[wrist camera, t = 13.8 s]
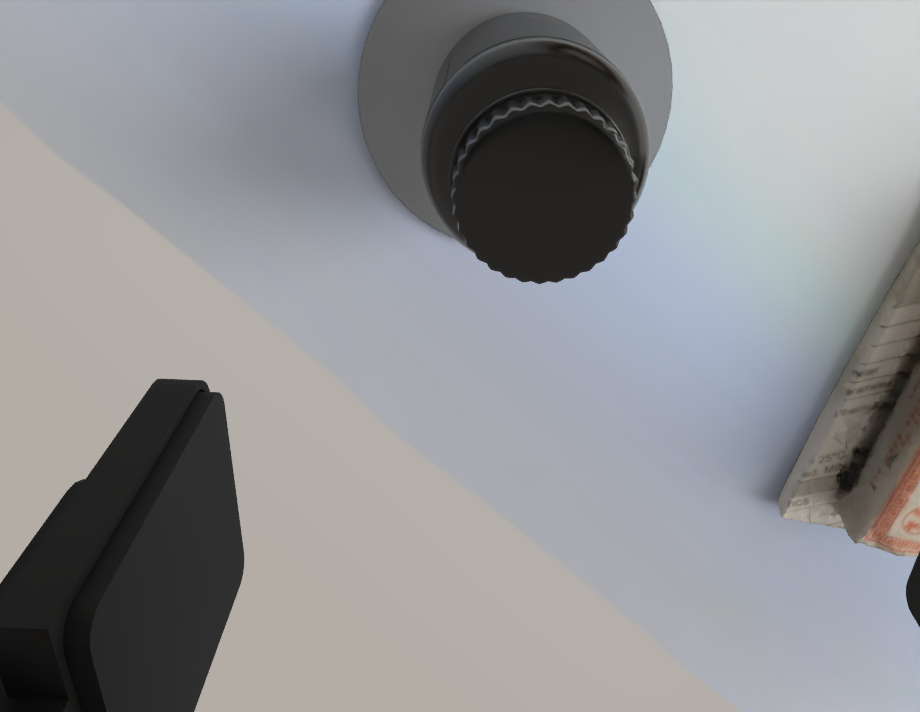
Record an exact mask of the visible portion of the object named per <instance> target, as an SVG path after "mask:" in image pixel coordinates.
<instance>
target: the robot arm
mask: <svg viewBox="0 0 920 712" xmlns="http://www.w3.org/2000/svg"><path fill="white" fill-rule="evenodd" d="M243 569H244V550H243V542H242V535H241V527H240V520H239V512H238V505H237V497H236V489H235V481H234V474H233V466H232V459H231V451H230V443H229V437H228V428H227V421H226V413H225V405H224V401H223V397H222V395H221V394H220V393H218V392H217V393H216V392H210V391H209V388H208V385H207V384H206V382H204V381H202V380H178V379H157V380H156V381H155V382H154V383H153V384H152V385H151V387H150V388H149V390H148V391H147V393H146V394H145V396H144V397H143V398H142V400H141V401H140V402H139V404H138V405H137V407H136V408H135V410H134V411H133V413H132V414H131V415H130V417H129V418H128V420H127V421H126V422H125V424H124V425H123V427H122V428H121V430H120V431H119V433H118V434H117V435H116V437H115V438H114V440H113V441H112V443H111V444H110V445H109V447H108V448H107V450H106V451H105V452H104V454H103V455H102V457H101V458H100V459H99V461H98V462H97V464H96V465H95V467H94V468H93V469H92V471H91V472H90V474H89V475H88V477H87V478H86V479H83V480H80V481H78V482H75V483H74V485H72V487H70V489H69V490H68V491H67V492H66V493H65V495H64V496H63V497H62V499H61V500H60V502H59V503H58V505H57V506H56V507H55V509H54V510H53V511H52V513H51V514H50V516H49V517H48V518H47V520H46V522H45V523H44V524H43V526H42V527H41V528H40V530H39V531H38V532H37V534H36V535H35V536H34V538H33V539H32V541H31V542H30V543H29V545H28V546H27V547H26V549H25V550H24V552H23V553H22V554H21V556H20V557H19V559H18V560H17V561H16V563H15V564H14V565H13V567H12V568H11V570H10V571H9V572H8V574H7V575H6V577H5V578H4V579H3V581H2V582H1V584H0V712H194V710H195V708H196V705H197V702H198V699H199V697H200V694H201V691H202V688H203V685H204V683H205V680H206V677H207V675H208V672H209V669H210V666H211V663H212V661H213V658H214V655H215V653H216V650H217V647H218V644H219V642H220V639H221V636H222V633H223V630H224V628H225V625H226V622H227V620H228V617H229V614H230V611H231V609H232V606H233V603H234V600H235V597H236V595H237V592H238V589H239V587H240V584H241V580H242V575H243ZM906 597H907V603H908V607H909V609H910V611H911V613H912V615H913V617H914V618H915V620H916V622H917V623H918V625H919V627H920V552H919V554H918V557H917V559H916V562H915V564H914V567H913V569H912V572H911V574H910V576H909V579H908V582H907V586H906Z"/></svg>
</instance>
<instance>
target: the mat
mask: <svg viewBox="0 0 920 712" xmlns="http://www.w3.org/2000/svg"><path fill="white" fill-rule="evenodd" d="M515 12H535V13H541V14H546V15H549V16H553V17H555V18H558V19H560V20H562V21H564V22H566V23H568V24H570V25H571V26H573V27H574V28H576V29H577V30H578V31H580V32H581V33H582V34H583V35H584V36H586V37H587V38H588V39H589V40H590V41H591V42H592V43H593V44H594V45H595V46H596V47H597V48H598V49H599V50H600V51H601V52H602V53H603V54H604V55H605V56H606V58H607V59H608V60H609V61H610V62H611V63H612V64H613V65H614V66H615V67H616V68H617V69H618V70H619V71H620V72H621V73H622V74H623V76H624V77H625V78H626V79H627V81H628V82H629V83H630V85H631V87H632V88H633V90H634V92H635V93H636V95H637V97H638V99H639V101H640V103H641V105H642V108H643V111H644V114H645V116H646V120H647V124H648V128H649V136H650V163H649V168H650V166H651V164H652V162H653V160H654V158H655V156H656V154H657V152H658V150H659V148H660V145H661V142H662V139H663V136H664V133H665V131H666V127H667V122H668V118H669V113H670V109H671V98H672V65H671V59H670V54H669V48H668V43H667V40H666V37H665V33H664V30H663V27H662V24H661V22H660V20H659V17H658V15H657V13H656V11H655V9H654V7H653V5H652V3H651V1H650V0H385V2H384V4H383V5H382V7H381V8H380V10H379V12H378V13H377V15H376V18H375V20H374V22H373V24H372V27H371V29H370V31H369V33H368V37H367V40H366V43H365V47H364V50H363V54H362V59H361V65H360V71H359V83H358V102H359V113H360V120H361V125H362V129H363V134H364V138H365V141H366V144H367V146H368V149H369V152H370V155H371V157H372V159H373V161H374V163H375V165H376V167H377V169H378V171H379V173H380V175H381V176H382V178H383V179H384V181H385V182H386V184H387V185H388V187H389V188H390V189H391V191H392V192H393V193H394V194H395V195H396V197H397V198H398V199H399V200H400V201H401V202H402V203H403V205H404V206H406V207H407V208H408V209H409V210H410V211H411V212H412V213H414V214H415V215H416V216H417V217H418V218H419V219H421V220H422V221H424V222H425V223H427V224H428V225H430V226H431V227H433V228H434V229H436V230H438V231H440V232H442V233H444V234H446V235H448V236H450V237H452V238H454V237H453V236H452V235H451V234H450V233H449V232H448V231H447V229H446V228H445V227H444V226H443V224H442V223H441V222H440V220H439V219H438V217H437V215H436V214H435V212H434V210H433V208H432V206H431V204H430V202H429V199H428V197H427V194H426V191H425V187H424V183H423V178H422V172H421V157H420V156H421V141H422V133H423V129H424V125H425V120H426V116H427V112H428V108H429V104H430V100H431V95H432V91H433V87H434V84H435V81H436V78H437V75H438V72H439V70H440V68H441V65H442V63H443V62H444V60H445V58H446V56H447V55H448V53H449V52H450V51H451V49H452V48H453V47H454V45H455V44H456V43H457V42H458V41H459V40H460V39H461V38H462V37H463V36H464V35H465V34H466V33H468V32H469V31H470V30H472V29H473V28H474V27H476V26H478V25H479V24H481V23H483V22H485V21H487V20H489V19H491V18H494V17H497V16H500V15H504V14H508V13H515Z"/></svg>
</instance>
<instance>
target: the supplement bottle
mask: <svg viewBox="0 0 920 712" xmlns="http://www.w3.org/2000/svg"><path fill="white" fill-rule="evenodd" d="M420 157H421V172H422V178H423V183H424V187H425V191H426V194H427V197H428V199H429V202H430V204H431V206H432V208H433V210H434V212H435V214H436V215H437V217H438V219H439V220H440V222H441V223H442V224H443V226H444V227H445V228H446V229H447V231H448V232H449V233H450V234H451V235H452V236H453V237H454V238H455V239H456V240H457V241H458V242H460V243H461V244H462V245H463V246H465V247H466V248H467V249H469V250H470V251H472V252H473V253H475V254H476V257H477V259H479V260H481V261H483V262H485V263H487V264H488V266H489V268H490V269H491V270H494V271H499V272H501V273H502V274H503V275H504V276H505V277H508V278H516V279H518V280H519V281H521V282H529V281H533V282H535V283H538V284H541V283H545V282H547V281H551V282H556V283H557V282H559V281H561V280H563V279H564V278H574V277H576V276H577V275H578V274H579V273H581V272H586V271H590V270H591V269H592V268H593V266H594V265H595V264H596V263H600V262H602V261H604V260H605V258H606V257H607V255H608V253H609V252H611V251H613V250H615V249H616V248H617V246H618V243H619V240H620V239H621V238H622V237H623V236H624V235H625V234H626V233H627V225H628V224H629V222H630V221H631V220H632V218H633V216H634V214H633V210H634V208H635V206H636V205H637V203H638V200H639V198H640V196H641V194H642V191H643V188H644V186H645V182H646V179H647V175H648V169H649V163H650V136H649V128H648V124H647V120H646V116H645V114H644V111H643V108H642V105H641V103H640V101H639V99H638V97H637V95H636V93H635V92H634V90H633V88H632V87H631V85H630V83H629V82H628V81H627V79H626V78H625V77H624V76H623V74H622V73H621V72H620V71H619V70H618V69H617V68H616V67H615V66H614V65H613V64H612V63H611V62H610V61H609V60H608V59H607V58H606V56H605V55H604V54H603V53H602V52H601V51H600V50H599V49H598V48H597V47H596V46H595V45H594V44H593V43H592V42H591V41H590V40H589V39H588V38H587V37H586V36H584V35H583V34H582V33H581V32H580V31H578V30H577V29H576V28H574V27H573V26H571V25H570V24H568V23H566V22H564V21H562V20H560V19H558V18H555V17H553V16H549V15H546V14H541V13H535V12H515V13H508V14H504V15H500V16H497V17H494V18H491V19H489V20H487V21H485V22H483V23H481V24H479V25H478V26H476V27H474V28H473V29H472V30H470V31H469V32H468V33H466V34H465V35H464V36H463V37H462V38H461V39H460V40H459V41H458V42H457V43H456V44H455V45H454V47H453V48H452V49H451V51H450V52H449V53H448V55H447V56H446V58H445V60H444V62H443V63H442V65H441V68H440V70H439V72H438V75H437V78H436V81H435V84H434V87H433V91H432V95H431V100H430V104H429V108H428V112H427V116H426V120H425V125H424V129H423V133H422V141H421V156H420Z"/></svg>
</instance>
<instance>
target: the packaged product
mask: <svg viewBox="0 0 920 712" xmlns="http://www.w3.org/2000/svg"><path fill="white" fill-rule="evenodd" d="M778 504H779V509H780V514H781V517H783V518H788V519H793V520H798V521H803V522H808V523H816V524H822V525H827V526H831V527H838V528H845V529H846V531H847V533H848V535H849V536H850V538H851V539H852V540H853V541H854V542H855V543H863V544H865V545H867V546H871V547H875V548H878V549H881V550H884V551H887V552H890V553H892V554H894V555H897V556H909V557H918V554H919V552H920V240H919V241H918V243H917V245H916V246H915V248H914V250H913V251H912V253H911V255H910V256H909V258H908V260H907V261H906V263H905V265H904V266H903V268H902V270H901V271H900V273H899V275H898V276H897V278H896V280H895V281H894V283H893V285H892V286H891V288H890V289H889V291H888V293H887V295H886V296H885V298H884V300H883V301H882V304H881V306H880V307H879V309H878V311H877V313H876V315H875V316H874V318H873V320H872V322H871V323H870V325H869V327H868V329H867V330H866V332H865V334H864V336H863V338H862V339H861V341H860V343H859V345H858V346H857V348H856V350H855V352H854V353H853V355H852V357H851V358H850V360H849V362H848V364H847V365H846V367H845V369H844V371H843V373H842V375H841V376H840V378H839V380H838V382H837V384H836V386H835V387H834V389H833V391H832V393H831V395H830V397H829V399H828V401H827V402H826V404H825V406H824V408H823V410H822V412H821V414H820V415H819V417H818V419H817V421H816V423H815V425H814V427H813V429H812V431H811V433H810V435H809V437H808V439H807V441H806V443H805V445H804V447H803V449H802V451H801V453H800V455H799V457H798V459H797V461H796V463H795V465H794V467H793V469H792V471H791V473H790V475H789V477H788V479H787V481H786V483H785V485H784V487H783V489H782V491H781V494H780V496H779V499H778Z"/></svg>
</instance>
